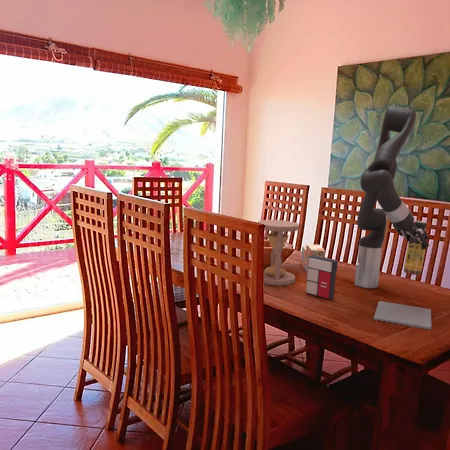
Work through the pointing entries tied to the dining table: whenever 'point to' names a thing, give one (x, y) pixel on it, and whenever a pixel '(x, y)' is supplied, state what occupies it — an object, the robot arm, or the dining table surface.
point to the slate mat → (403, 315)
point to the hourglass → (278, 251)
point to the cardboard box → (311, 253)
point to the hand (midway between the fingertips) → (419, 245)
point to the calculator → (321, 276)
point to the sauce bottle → (414, 253)
